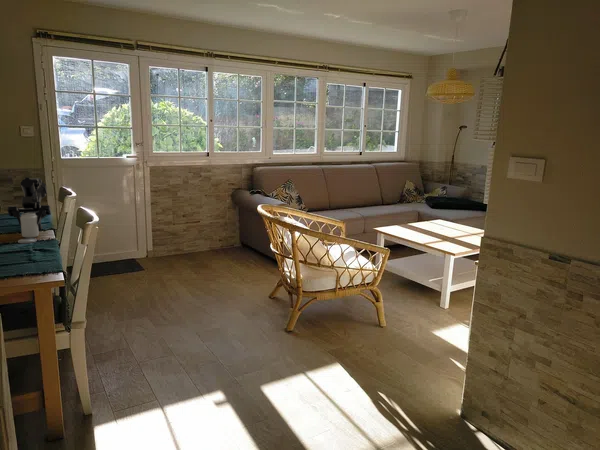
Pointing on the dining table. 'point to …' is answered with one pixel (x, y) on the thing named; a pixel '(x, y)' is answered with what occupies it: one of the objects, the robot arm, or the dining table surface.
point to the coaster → (27, 240)
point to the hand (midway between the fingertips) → (29, 224)
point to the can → (29, 225)
